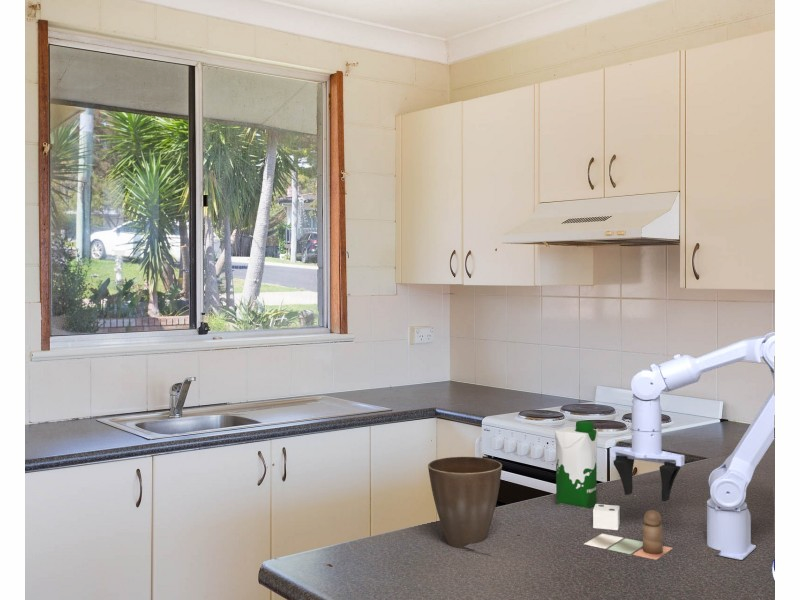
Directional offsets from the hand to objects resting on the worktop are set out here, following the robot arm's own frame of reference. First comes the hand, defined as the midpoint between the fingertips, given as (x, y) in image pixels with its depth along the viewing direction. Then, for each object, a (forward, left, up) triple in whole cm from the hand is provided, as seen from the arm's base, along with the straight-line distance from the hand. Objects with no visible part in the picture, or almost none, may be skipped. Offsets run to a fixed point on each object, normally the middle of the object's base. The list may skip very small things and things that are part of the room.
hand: (646, 497), depth 159 cm
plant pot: (+22, -29, -10) cm, 38 cm away
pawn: (+7, +4, -8) cm, 11 cm away
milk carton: (-17, -24, -10) cm, 31 cm away
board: (+7, -1, -9) cm, 12 cm away
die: (-3, -10, -10) cm, 14 cm away
